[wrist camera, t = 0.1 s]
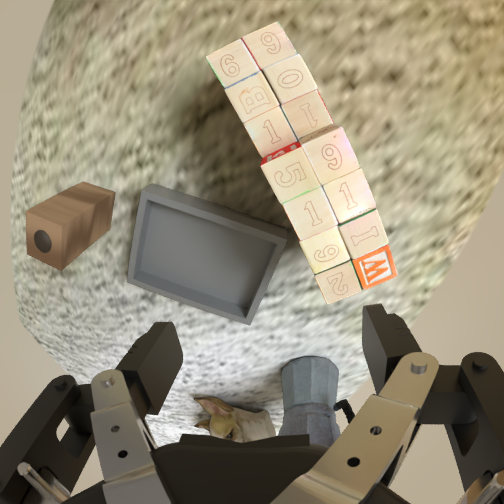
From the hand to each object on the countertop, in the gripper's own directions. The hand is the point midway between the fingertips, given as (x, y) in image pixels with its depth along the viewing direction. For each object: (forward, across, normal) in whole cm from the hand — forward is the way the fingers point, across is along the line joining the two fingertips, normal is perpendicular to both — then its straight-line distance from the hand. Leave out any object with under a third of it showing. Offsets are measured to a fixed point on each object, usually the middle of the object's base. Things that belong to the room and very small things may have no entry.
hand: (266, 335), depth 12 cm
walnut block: (+22, +22, -5) cm, 31 cm away
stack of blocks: (+22, -3, -8) cm, 23 cm away
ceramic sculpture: (+28, +12, +34) cm, 45 cm away
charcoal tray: (+23, +9, +3) cm, 25 cm away
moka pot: (+26, -2, +24) cm, 36 cm away
